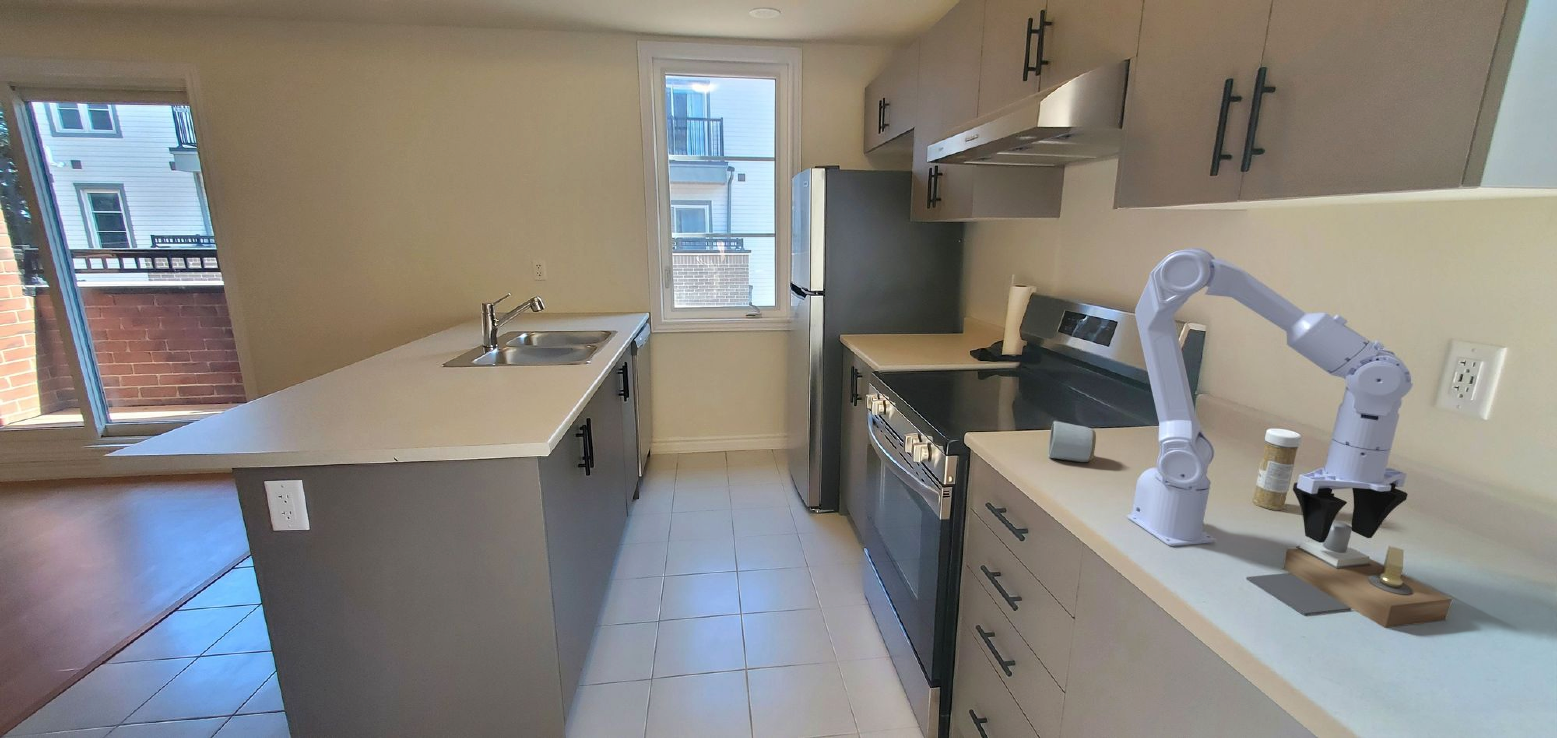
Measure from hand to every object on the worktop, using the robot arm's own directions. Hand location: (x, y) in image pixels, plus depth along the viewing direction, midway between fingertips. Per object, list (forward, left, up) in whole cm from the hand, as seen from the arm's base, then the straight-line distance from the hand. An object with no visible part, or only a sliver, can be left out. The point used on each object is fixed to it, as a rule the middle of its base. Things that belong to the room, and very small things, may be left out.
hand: (1338, 536), depth 83 cm
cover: (0, 0, -3) cm, 3 cm away
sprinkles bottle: (-20, +12, -6) cm, 24 cm away
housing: (+4, 0, -6) cm, 7 cm away
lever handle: (+6, +2, -3) cm, 6 cm away
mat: (+3, -9, -6) cm, 11 cm away
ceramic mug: (-46, -9, -6) cm, 47 cm away
